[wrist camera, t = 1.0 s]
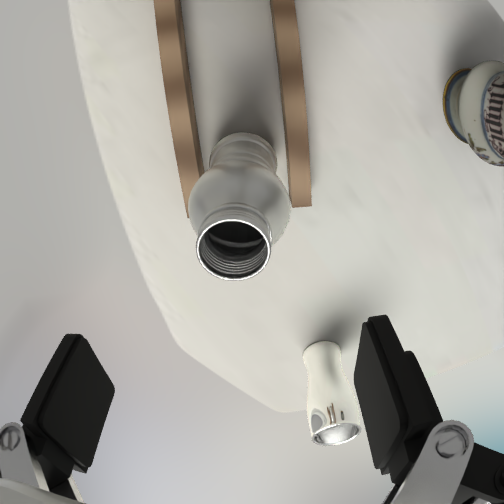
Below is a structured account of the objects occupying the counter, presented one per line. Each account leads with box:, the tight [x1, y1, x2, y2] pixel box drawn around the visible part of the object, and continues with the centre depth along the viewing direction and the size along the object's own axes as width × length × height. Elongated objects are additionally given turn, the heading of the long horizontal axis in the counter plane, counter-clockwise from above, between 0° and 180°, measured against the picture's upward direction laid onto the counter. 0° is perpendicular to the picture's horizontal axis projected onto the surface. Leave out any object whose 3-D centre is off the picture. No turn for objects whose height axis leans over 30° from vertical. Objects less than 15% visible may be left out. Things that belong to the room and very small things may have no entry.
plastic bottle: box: [188, 132, 291, 281], centre depth 24 cm, size 6×7×20 cm
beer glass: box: [303, 341, 361, 446], centre depth 41 cm, size 7×7×15 cm
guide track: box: [154, 0, 312, 218], centre depth 26 cm, size 28×13×6 cm, turn 6°
